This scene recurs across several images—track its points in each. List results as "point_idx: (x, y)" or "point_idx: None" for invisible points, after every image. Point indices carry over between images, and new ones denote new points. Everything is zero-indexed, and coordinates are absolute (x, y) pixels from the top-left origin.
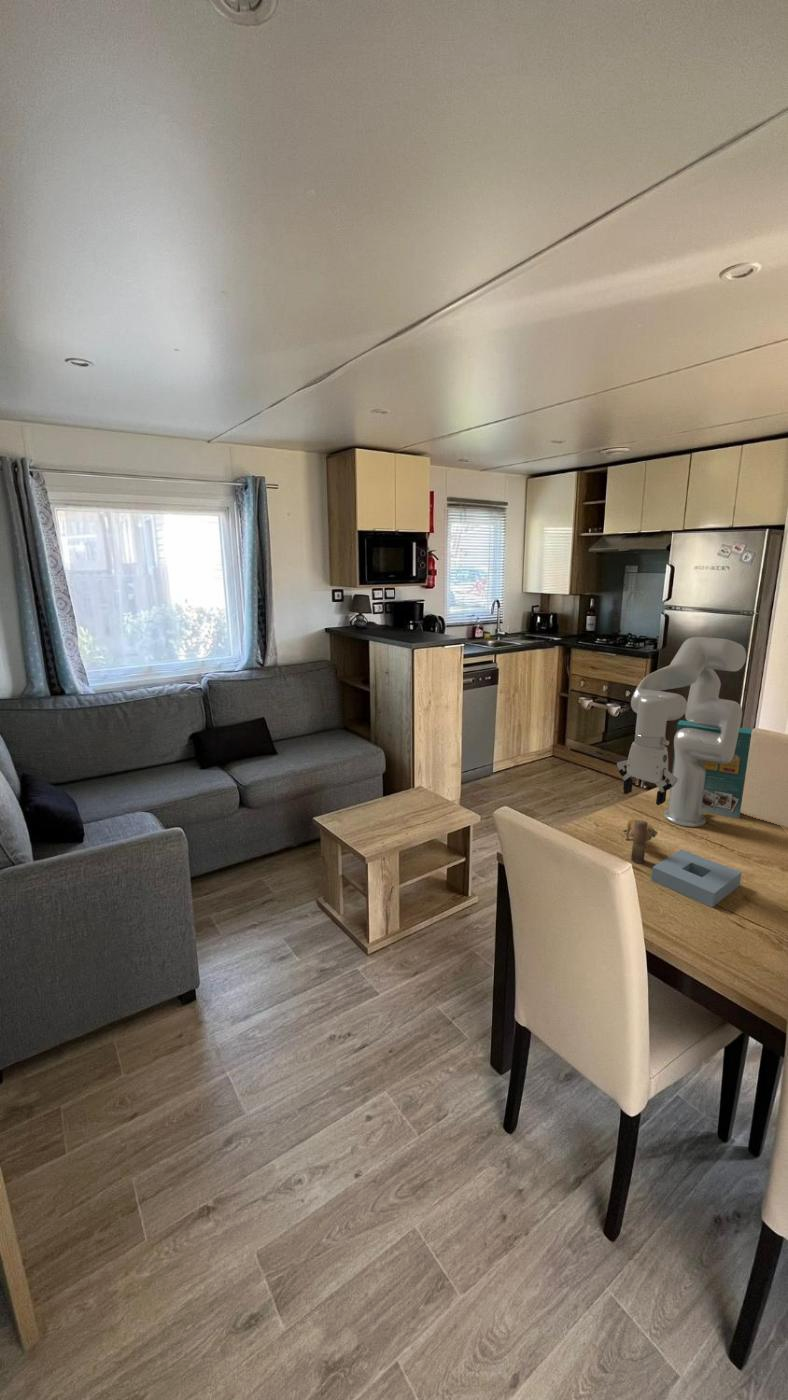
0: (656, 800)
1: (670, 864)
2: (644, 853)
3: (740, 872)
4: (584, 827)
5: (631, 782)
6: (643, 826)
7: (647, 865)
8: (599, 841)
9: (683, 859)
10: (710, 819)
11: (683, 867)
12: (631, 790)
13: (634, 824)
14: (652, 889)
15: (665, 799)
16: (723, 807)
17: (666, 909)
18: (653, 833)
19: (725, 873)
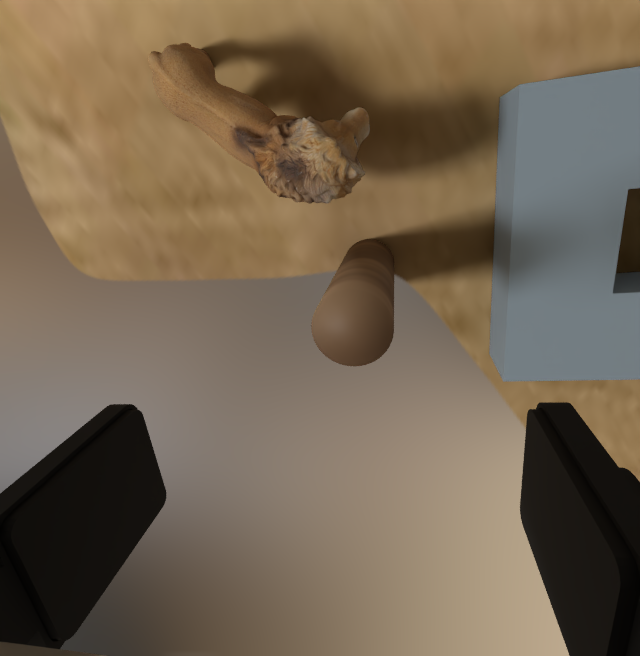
0: (536, 556)
1: (551, 298)
2: (392, 265)
3: None
4: (62, 201)
5: (53, 524)
6: (385, 347)
7: (417, 265)
8: (182, 255)
9: (580, 195)
10: None
11: (614, 273)
12: (130, 421)
13: (215, 126)
14: (524, 400)
15: (634, 478)
16: None
17: None
18: (358, 147)
19: None
